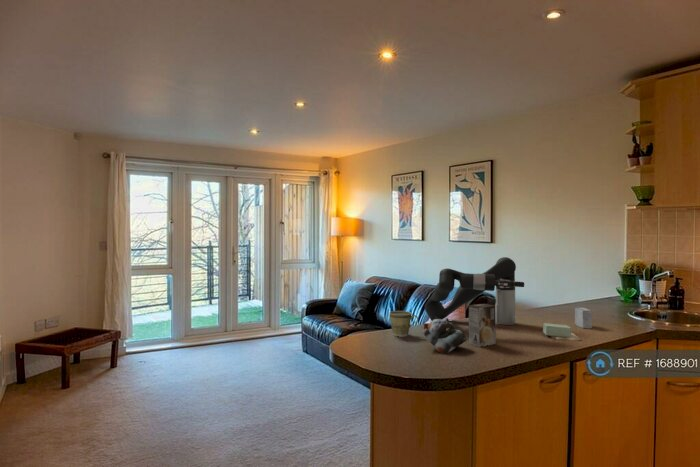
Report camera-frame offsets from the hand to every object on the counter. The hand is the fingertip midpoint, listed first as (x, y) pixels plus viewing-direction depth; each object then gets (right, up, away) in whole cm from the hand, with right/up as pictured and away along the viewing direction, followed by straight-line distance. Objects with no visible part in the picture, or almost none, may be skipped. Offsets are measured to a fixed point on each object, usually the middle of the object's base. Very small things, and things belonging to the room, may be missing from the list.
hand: (524, 284), depth 193 cm
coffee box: (-23, -23, -15) cm, 36 cm away
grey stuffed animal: (-41, -23, -22) cm, 52 cm away
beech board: (+17, -23, -3) cm, 28 cm away
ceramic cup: (-54, -23, 0) cm, 59 cm away
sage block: (+9, -19, -1) cm, 21 cm away
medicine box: (+36, -23, +17) cm, 46 cm away
